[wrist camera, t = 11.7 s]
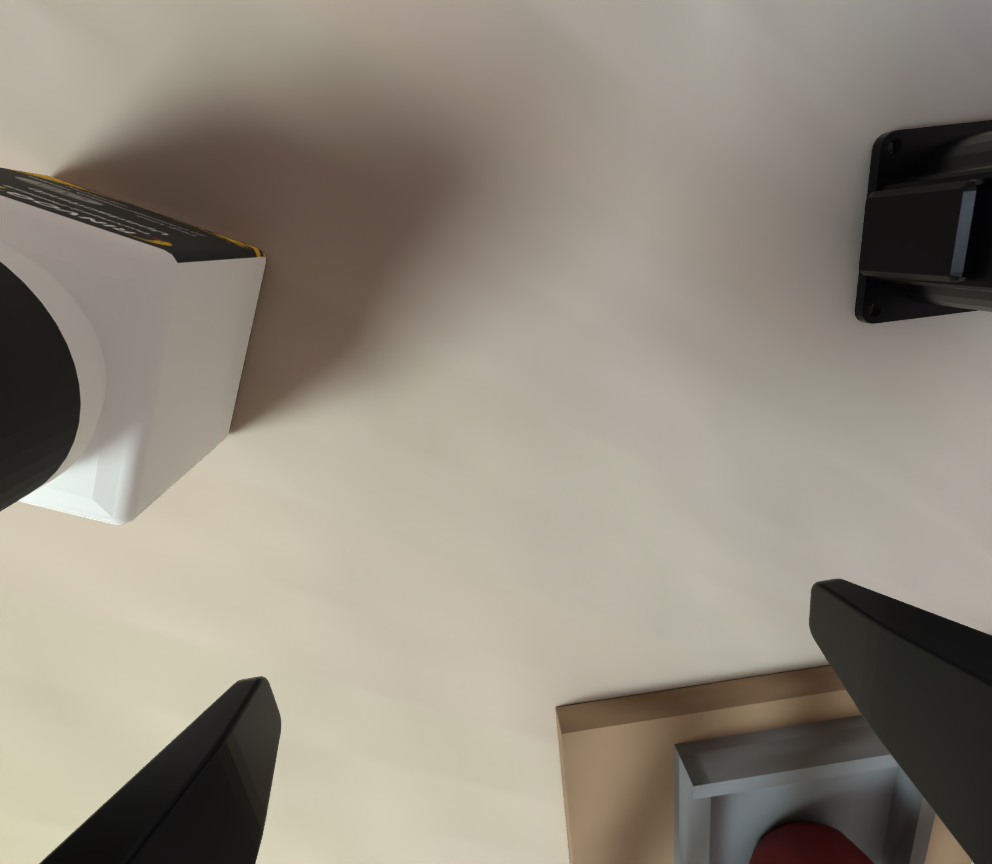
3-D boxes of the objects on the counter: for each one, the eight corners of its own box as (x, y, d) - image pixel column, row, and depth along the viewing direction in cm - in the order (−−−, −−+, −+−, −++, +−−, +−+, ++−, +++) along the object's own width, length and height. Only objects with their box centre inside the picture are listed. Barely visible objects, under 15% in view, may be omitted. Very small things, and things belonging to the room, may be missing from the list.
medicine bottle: (271, 251, 19) (4, 263, 7) (230, 439, 21) (-30, 675, 9) (43, 172, 17) (-703, 41, 6) (22, 381, 19) (-570, 573, 8)
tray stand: (993, 640, 27) (1072, 696, 24) (936, 882, 33) (992, 955, 30) (555, 707, 26) (571, 776, 23) (577, 945, 32) (592, 1027, 29)
